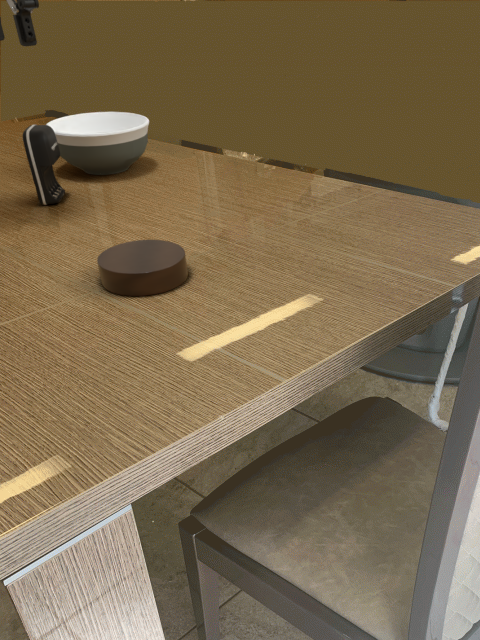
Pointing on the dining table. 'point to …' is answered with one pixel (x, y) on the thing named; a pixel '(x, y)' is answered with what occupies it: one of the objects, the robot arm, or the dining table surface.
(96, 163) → the bowl
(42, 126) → the battery charger
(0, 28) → the robot arm
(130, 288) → the brown round disc
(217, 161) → the dining table surface
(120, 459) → the dining table surface
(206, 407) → the dining table surface
